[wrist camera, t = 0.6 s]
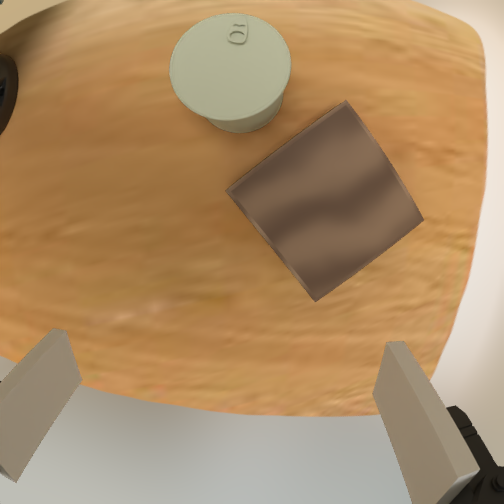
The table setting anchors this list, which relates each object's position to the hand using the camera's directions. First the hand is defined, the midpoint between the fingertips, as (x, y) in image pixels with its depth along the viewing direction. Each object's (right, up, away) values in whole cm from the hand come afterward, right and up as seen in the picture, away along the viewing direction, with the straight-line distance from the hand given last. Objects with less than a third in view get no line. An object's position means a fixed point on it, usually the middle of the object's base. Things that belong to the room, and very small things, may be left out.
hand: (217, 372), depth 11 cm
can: (0, +22, +20) cm, 29 cm away
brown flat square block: (+9, +10, +23) cm, 27 cm away
